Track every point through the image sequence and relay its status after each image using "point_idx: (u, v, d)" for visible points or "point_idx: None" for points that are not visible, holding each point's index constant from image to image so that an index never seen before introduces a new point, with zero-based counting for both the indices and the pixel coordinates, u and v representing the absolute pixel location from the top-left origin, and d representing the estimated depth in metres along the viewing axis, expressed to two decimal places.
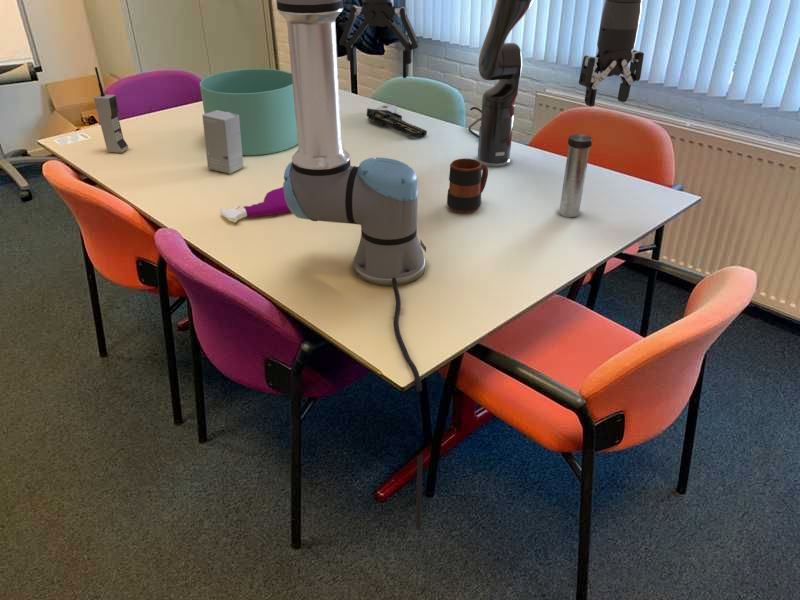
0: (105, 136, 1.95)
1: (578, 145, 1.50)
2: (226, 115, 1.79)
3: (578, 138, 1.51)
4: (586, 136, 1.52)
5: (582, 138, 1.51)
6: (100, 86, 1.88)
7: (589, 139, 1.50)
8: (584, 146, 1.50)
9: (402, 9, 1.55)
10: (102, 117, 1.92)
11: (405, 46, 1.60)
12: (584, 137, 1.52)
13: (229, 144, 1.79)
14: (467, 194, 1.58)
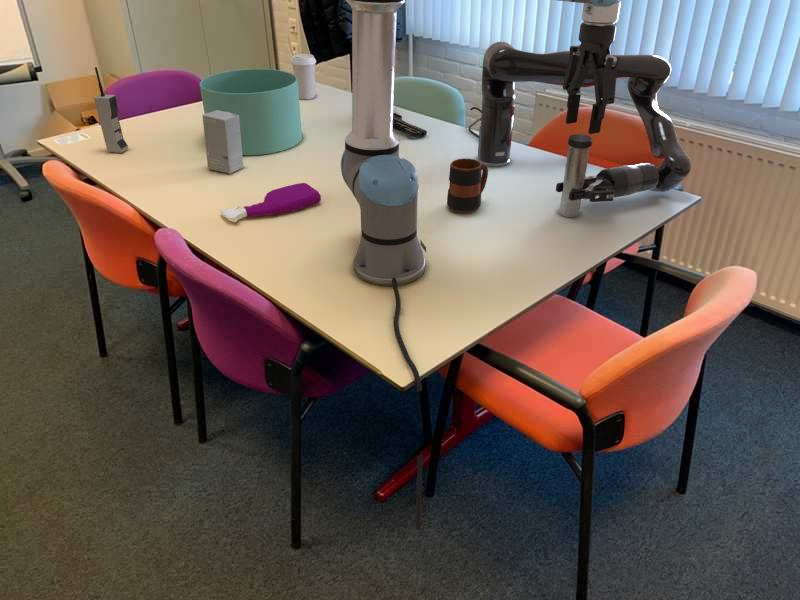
0: (105, 136, 1.95)
1: (578, 145, 1.50)
2: (226, 115, 1.79)
3: (578, 138, 1.51)
4: (586, 136, 1.52)
5: (582, 138, 1.51)
6: (100, 86, 1.88)
7: (589, 139, 1.50)
8: (584, 146, 1.50)
9: None
10: (102, 117, 1.92)
11: None
12: (584, 137, 1.52)
13: (229, 144, 1.79)
14: (467, 194, 1.58)
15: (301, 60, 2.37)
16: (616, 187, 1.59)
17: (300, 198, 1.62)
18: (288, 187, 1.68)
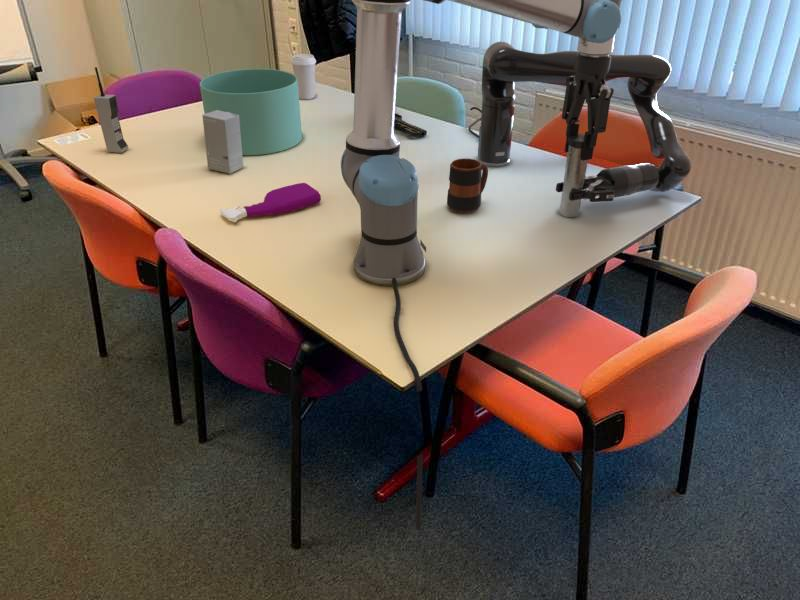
0: (105, 136, 1.95)
1: (578, 145, 1.50)
2: (226, 115, 1.79)
3: (578, 138, 1.51)
4: None
5: (582, 138, 1.51)
6: (100, 86, 1.88)
7: None
8: None
9: None
10: (102, 117, 1.92)
11: None
12: None
13: (229, 144, 1.79)
14: (467, 194, 1.58)
15: (301, 60, 2.37)
16: (616, 187, 1.59)
17: (300, 198, 1.62)
18: (288, 187, 1.68)
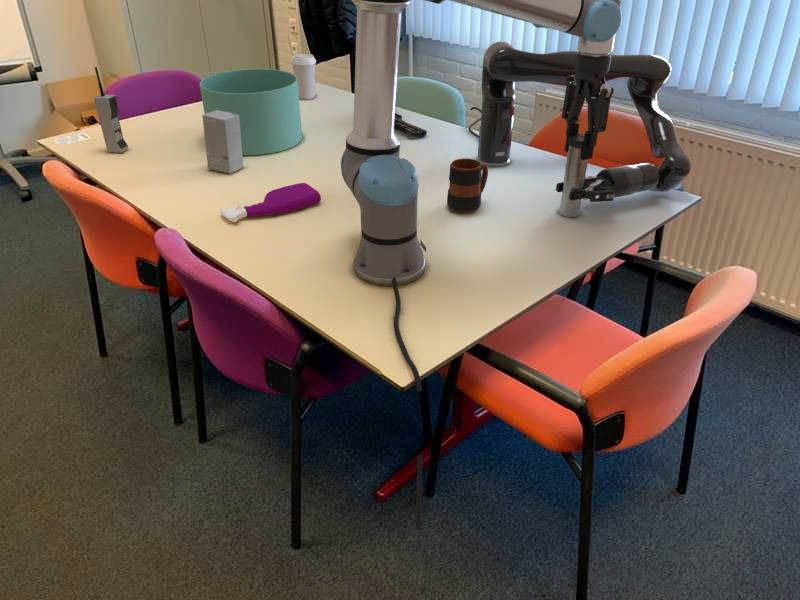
0: (105, 136, 1.95)
1: None
2: (226, 115, 1.79)
3: (583, 138, 1.51)
4: (575, 135, 1.53)
5: (582, 136, 1.52)
6: (100, 86, 1.88)
7: (583, 134, 1.53)
8: None
9: None
10: (102, 117, 1.92)
11: None
12: (578, 136, 1.52)
13: (229, 144, 1.79)
14: (467, 194, 1.58)
15: (301, 60, 2.37)
16: (616, 187, 1.59)
17: (300, 198, 1.62)
18: (288, 187, 1.68)
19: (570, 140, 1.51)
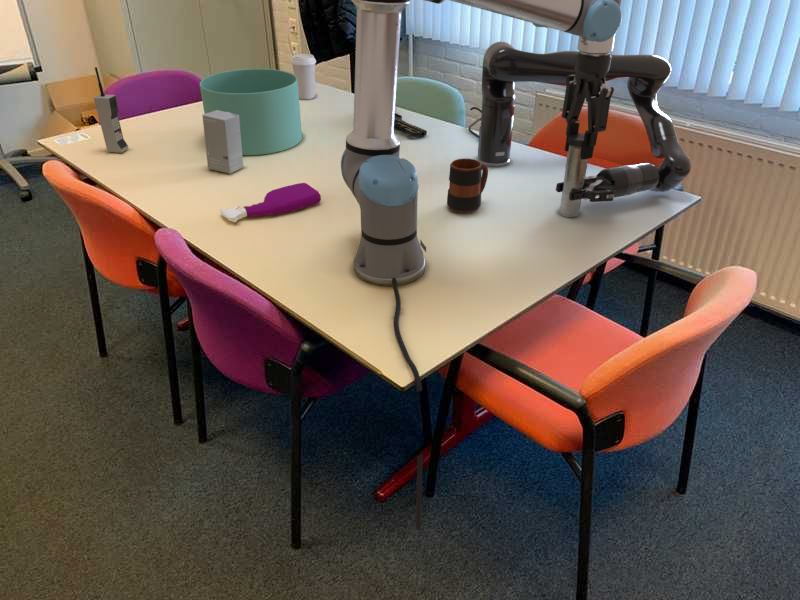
0: (105, 136, 1.95)
1: None
2: (226, 115, 1.79)
3: (583, 136, 1.52)
4: (575, 138, 1.50)
5: (579, 136, 1.52)
6: (100, 86, 1.88)
7: (572, 135, 1.52)
8: None
9: None
10: (102, 117, 1.92)
11: None
12: (577, 137, 1.51)
13: (229, 144, 1.79)
14: (467, 194, 1.58)
15: (301, 60, 2.37)
16: (616, 187, 1.59)
17: (300, 198, 1.62)
18: (288, 187, 1.68)
19: None
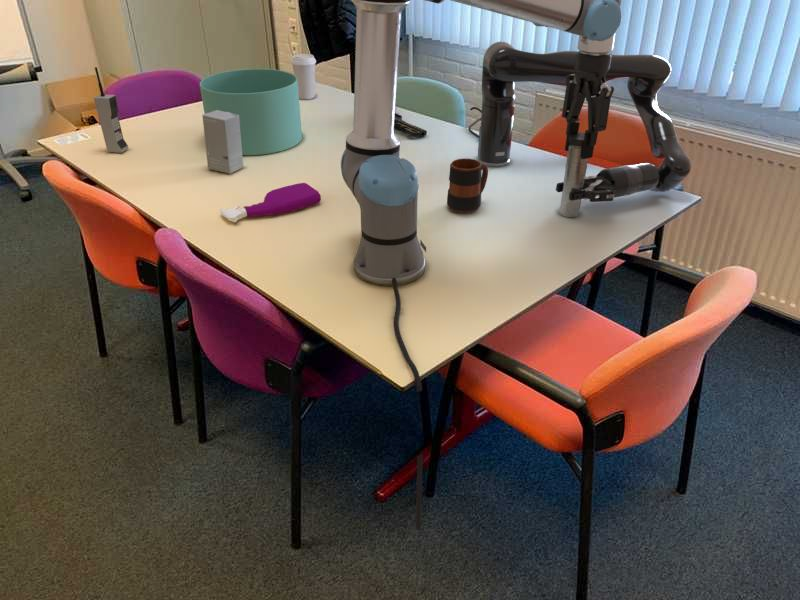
0: (105, 136, 1.95)
1: None
2: (226, 115, 1.79)
3: (578, 135, 1.52)
4: None
5: (579, 136, 1.51)
6: (100, 86, 1.88)
7: (577, 138, 1.50)
8: (569, 141, 1.51)
9: None
10: (102, 117, 1.92)
11: None
12: (583, 137, 1.50)
13: (229, 144, 1.79)
14: (467, 194, 1.58)
15: (301, 60, 2.37)
16: (616, 187, 1.59)
17: (300, 198, 1.62)
18: (288, 187, 1.68)
19: None
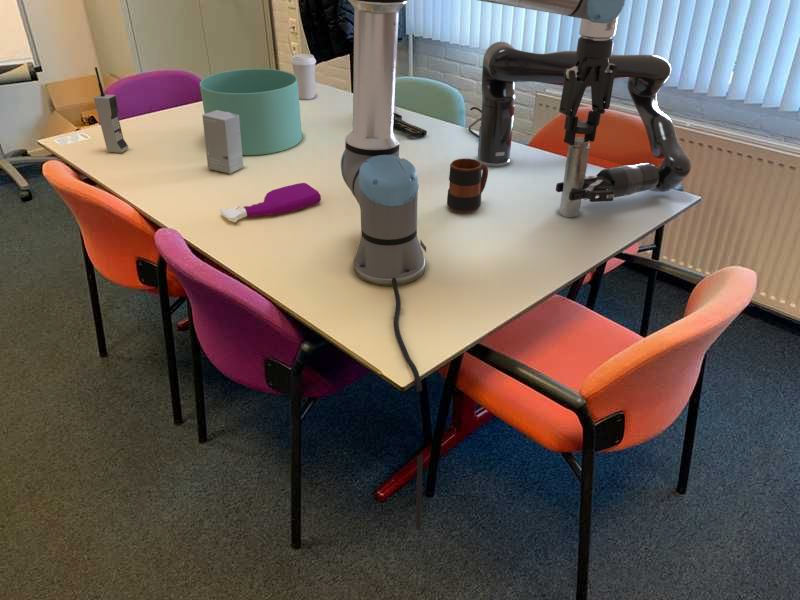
0: (105, 136, 1.95)
1: None
2: (226, 115, 1.79)
3: (584, 124, 1.49)
4: None
5: (583, 123, 1.50)
6: (100, 86, 1.88)
7: (585, 121, 1.51)
8: None
9: None
10: (102, 117, 1.92)
11: None
12: (579, 122, 1.50)
13: (229, 144, 1.79)
14: (467, 194, 1.58)
15: (301, 60, 2.37)
16: (616, 187, 1.59)
17: (300, 198, 1.62)
18: (288, 187, 1.68)
19: None
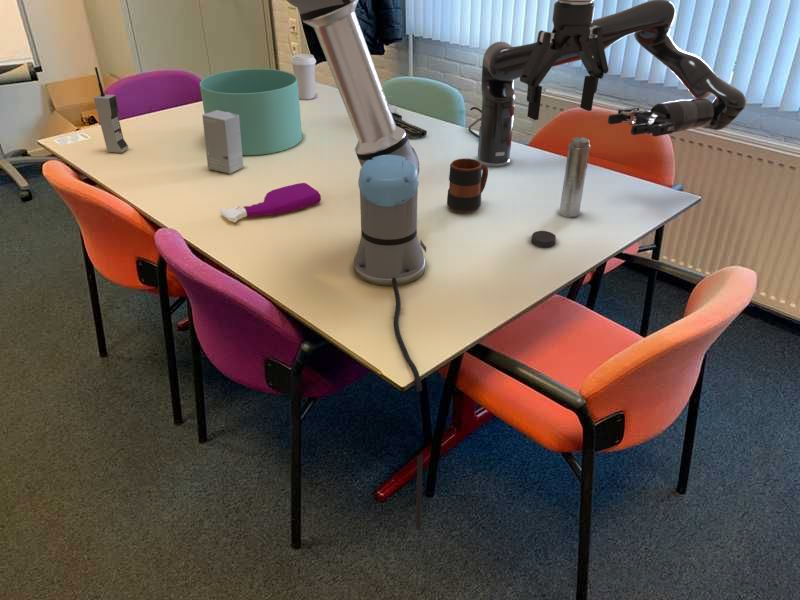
0: (105, 136, 1.95)
1: (554, 241, 1.48)
2: (226, 115, 1.79)
3: (546, 237, 1.48)
4: (538, 232, 1.50)
5: (545, 235, 1.49)
6: (100, 86, 1.88)
7: (547, 232, 1.50)
8: None
9: None
10: (102, 117, 1.92)
11: None
12: (542, 234, 1.49)
13: (229, 144, 1.79)
14: (467, 194, 1.58)
15: (301, 60, 2.37)
16: (671, 120, 1.55)
17: (300, 198, 1.62)
18: (288, 187, 1.68)
19: (533, 239, 1.48)
